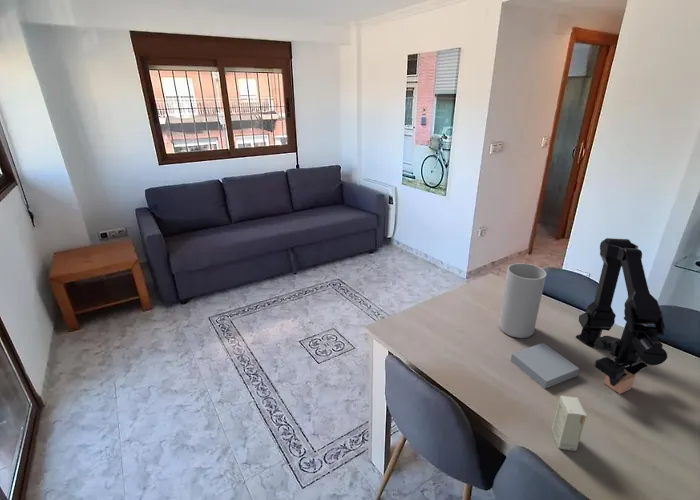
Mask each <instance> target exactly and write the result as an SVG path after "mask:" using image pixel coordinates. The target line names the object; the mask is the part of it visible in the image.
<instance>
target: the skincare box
mask: <svg viewBox="0 0 700 500" xmlns="http://www.w3.org/2000/svg"><path fill="white" fill-rule="evenodd" d="M558 399H559V400H558V403H557V408H556V412H555V416H554V418H553V419H554V420H553V423H552V427H551V431H552V435H553V437H554V441H555V442H556V446H557V448H558V449H561V450H565V451H566V450H568V451H577V450H578V446H579V443H580V442H579V441H580V439H581V436H582V432H583V429H584V427H585V422H586V418H587V413H586V411H585V409H584V407H583V404H582V402H581V401H580V399H579V397H576V396H574V397H573V396H569V395H563V394H562V395H559V398H558Z"/></svg>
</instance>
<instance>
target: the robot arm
mask: <svg viewBox="0 0 700 500" xmlns="http://www.w3.org/2000/svg"><path fill="white" fill-rule="evenodd" d="M599 244H600V245H599V256H600V257H601V260H602V263H603V265H602V269H601V271H600V272H601V273H600V277H599V280H598V285H597V289H596V292H595V297H594V300H593V301H592V302H591V303H590V304H589V305H588V306H587V307H586V310H585V312H584V313H581V314H580V315H578V323H579V324H580V326H581V328H582V329H581V333H579V334H576V335H575V338H576V339H578V340H580V341H581V342H582V343H584V344H586V345H587V346H589V347H591V348H593V347H595V348H596V349H597V350H601V351H605V352H609V355H610V356H612V357H615V358H614V359H612V358H610V357H609V356H606V357H602V358H600V359H599V358H598V359H597V360H596V361H595V363H594V368H596V369H597V370H599V371H600V372H601V373H603V374H604V375H605V376H606V375H607V376H609V379H610V384H611V385H612V386H615V385H616V384H618V383H619V382H620V381H621V380H622V379H623V378H624V377H626V376H627V374H626V373H624V372H625V370H627V371H628V372H630V373H631V374H633V375H635V376H636V375H637V374H638V373H639V372H641V371H643V370H644V369H646V368H647V367H648V366H658V365H662V364H663V363H664V362H665V361H667V359H668V353H667V351H666V349H665V348H664V347H663V346H664V345H663V343H662V342H661V341H660V340H659V339H658V338H657V336H664V335H665V331H664V330H666V327H665V322H664V316H663V311H662V310H661V307H660V304H659V302H658V300H657V298H656V297H654V296H653V295H652V294H651V293H650V290H649V286H648V282H647V278H646V274H645V270H644V265H643V262H642V259H643V252H642V250H641V249H639V246H638V245H637V244H636V243H633V242H631V240H630V239H628V238H613V237H612V238H609V237H607V238H605V239H603V240H602V241H601V242H600V243H599ZM621 268H622V269H621ZM621 270H622V272H623V277H624V278H623V279H624V281H625V282H624V283H625V287H626V291H627V292H626V293H627V299H625V302H624V312H623V313H624V317H623V319H624V320H625V325H624V328H623V331H622V334H621V336H620V338H619V337H615V336H611V335H603V336H602V333H603V331H607V332H609V331H610V330H611V329H612V327H614V324H615V320H616V317H617V316H616V313H615V312H614V310H613V309H612V303H613V299H614V296H615V293H616V292H615V291H616V288H617V283H618V280H619V276H620V272H621ZM647 325H653V326H647Z"/></svg>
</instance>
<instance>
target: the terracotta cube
mask: <svg viewBox="0 0 700 500" xmlns="http://www.w3.org/2000/svg"><path fill="white" fill-rule="evenodd" d="M624 373H626V374H627V376H626V377H624V378H623V379H622V380H621V381H620V382H619V383H618V384H616V385H615V386H612V385H611V384H610V379H609V376H607V375H606V374H605V377H604V381H603V383H604V384H605V385H607V386H608V387H609V388H611V389H612V390H613V391H615V392H617V394H619V395H620V394H624V393H625V392H627V391H629V390H631V389H632V387H633V384H634V382H635V380H636V378H637V377H636V374H635V375H633V374H631V373H630V372H628V371H627V370H625V372H624Z"/></svg>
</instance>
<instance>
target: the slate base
mask: <svg viewBox="0 0 700 500" xmlns="http://www.w3.org/2000/svg"><path fill="white" fill-rule="evenodd" d="M510 357H511V358H510V362H512V364H514V365H515V366H516V367H518V368H519V369H520V370H521V371H522V372H524V374H526V375H527V376H529V377H530V378H531V379H532V380H533V381H535V383H537V384H538V385H539V386H541V388H543V389H547V388H551V387H553V386H555V385H559V384H561V383H563V382H565V381H567V380H570V379H573V378H576V377H578V374H579V372H580V368H579V366H577V365H575V364H573V363H572V362H571V361H570V360H568V359H567V358H565V357H563V356H562V355H561V354H559V352H557V351H555V349H552V348H551V347H550V346H548V345H546V343H544V342H542V343H538V344H535V345H532V346H530V347H527V348H524V349H522V350H518V351H515V352H512V353H511V356H510Z"/></svg>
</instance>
